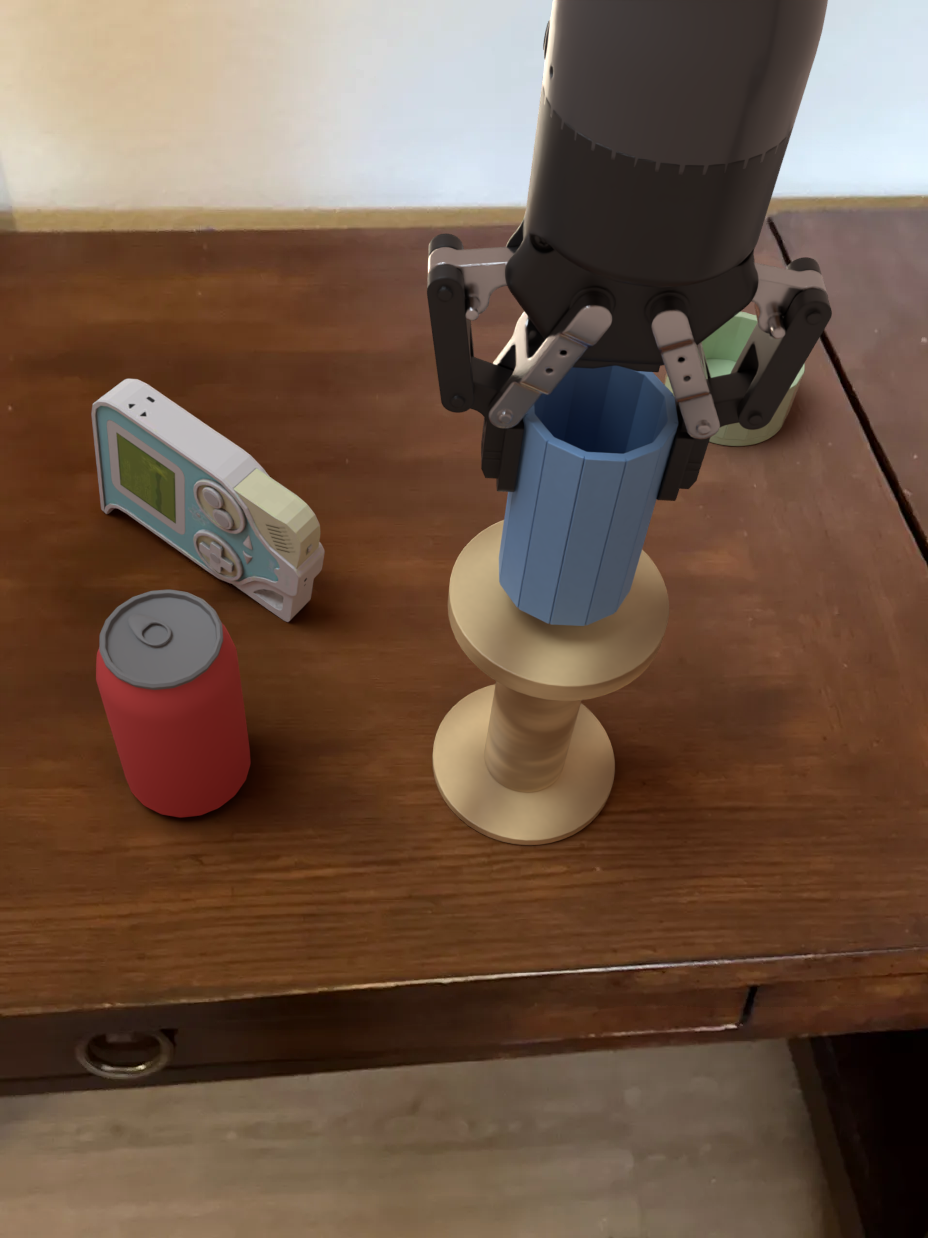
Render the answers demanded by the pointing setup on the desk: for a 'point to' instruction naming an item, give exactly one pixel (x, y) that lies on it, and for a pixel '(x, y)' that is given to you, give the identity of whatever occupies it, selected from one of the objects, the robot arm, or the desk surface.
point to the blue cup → (585, 493)
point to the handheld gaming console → (205, 497)
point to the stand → (536, 702)
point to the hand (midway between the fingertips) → (585, 480)
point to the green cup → (721, 360)
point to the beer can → (174, 702)
